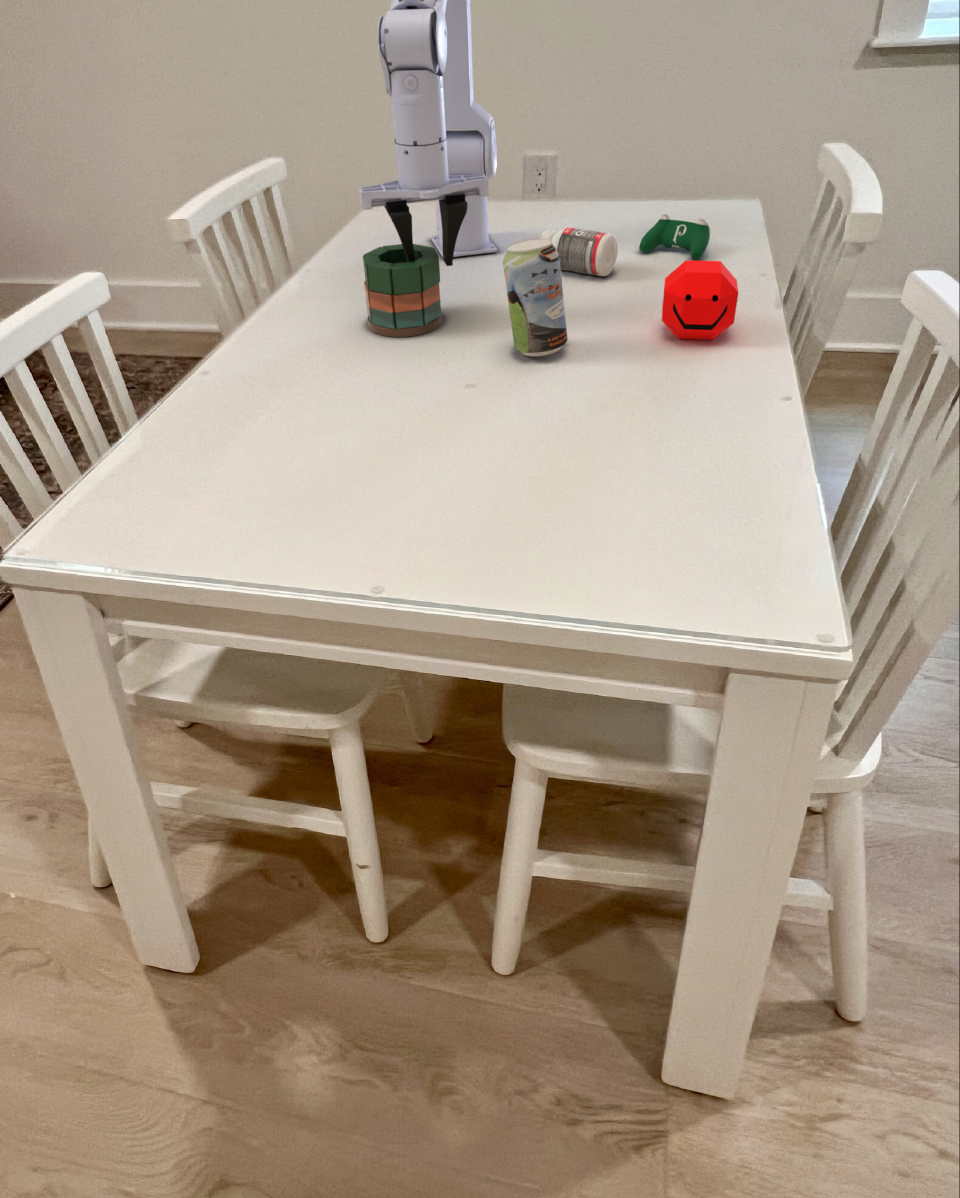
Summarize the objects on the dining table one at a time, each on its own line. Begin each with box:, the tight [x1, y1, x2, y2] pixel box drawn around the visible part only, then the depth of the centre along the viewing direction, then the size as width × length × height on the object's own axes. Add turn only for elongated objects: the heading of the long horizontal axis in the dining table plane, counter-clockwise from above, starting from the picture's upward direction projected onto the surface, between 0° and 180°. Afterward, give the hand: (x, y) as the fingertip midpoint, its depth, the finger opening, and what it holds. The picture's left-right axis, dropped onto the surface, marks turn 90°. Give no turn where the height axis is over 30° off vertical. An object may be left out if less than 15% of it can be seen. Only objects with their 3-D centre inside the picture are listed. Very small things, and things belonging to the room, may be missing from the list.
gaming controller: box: [638, 213, 711, 261], centre depth 124 cm, size 9×4×6 cm
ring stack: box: [363, 262, 442, 338], centre depth 107 cm, size 9×9×7 cm
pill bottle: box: [539, 226, 619, 277], centre depth 119 cm, size 5×5×10 cm
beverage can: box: [502, 238, 568, 357], centre depth 97 cm, size 6×7×12 cm
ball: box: [661, 259, 739, 341], centre depth 101 cm, size 8×8×8 cm
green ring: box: [362, 243, 441, 295], centre depth 105 cm, size 9×9×3 cm
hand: (430, 265), depth 106 cm, fingers open, 4 cm apart
